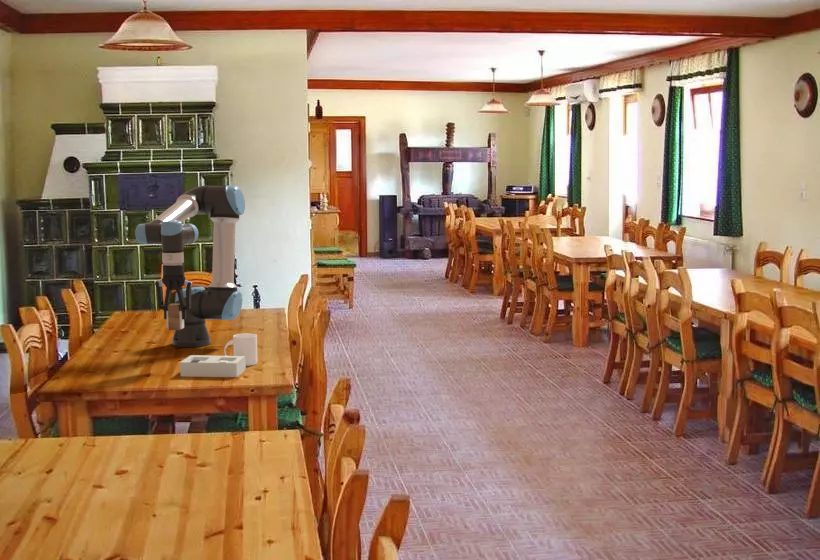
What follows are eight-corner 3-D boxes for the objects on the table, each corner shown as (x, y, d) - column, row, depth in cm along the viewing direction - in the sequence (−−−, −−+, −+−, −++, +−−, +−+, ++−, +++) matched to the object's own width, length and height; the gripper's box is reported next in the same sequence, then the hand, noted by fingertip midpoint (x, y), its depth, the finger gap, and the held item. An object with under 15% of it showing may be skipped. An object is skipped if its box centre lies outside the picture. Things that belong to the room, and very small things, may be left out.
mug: (223, 362, 354) (222, 334, 353) (256, 361, 357) (255, 332, 356) (225, 367, 346) (224, 338, 345) (258, 365, 349) (258, 336, 348)
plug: (172, 327, 347) (171, 303, 346) (183, 328, 347) (182, 303, 346) (168, 330, 344) (167, 305, 342) (179, 330, 343) (178, 305, 342)
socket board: (191, 368, 344) (190, 354, 344) (245, 369, 343) (245, 355, 342) (180, 376, 332) (179, 361, 332) (236, 377, 331) (236, 362, 330)
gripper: (146, 265, 339) (149, 329, 342) (193, 265, 337) (195, 330, 341) (153, 262, 346) (156, 325, 349) (199, 262, 345) (201, 326, 348)
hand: (175, 328), depth 345 cm, fingers closed on plug, 4 cm apart
